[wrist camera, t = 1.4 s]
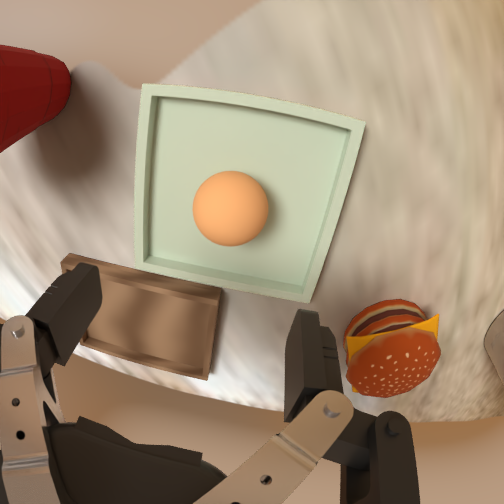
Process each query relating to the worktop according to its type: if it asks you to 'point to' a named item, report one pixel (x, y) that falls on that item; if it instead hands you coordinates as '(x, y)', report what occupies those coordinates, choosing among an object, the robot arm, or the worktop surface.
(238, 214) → the ball
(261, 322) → the worktop surface
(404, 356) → the hamburger
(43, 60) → the plastic cup
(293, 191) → the dish
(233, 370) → the worktop surface
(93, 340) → the tray
